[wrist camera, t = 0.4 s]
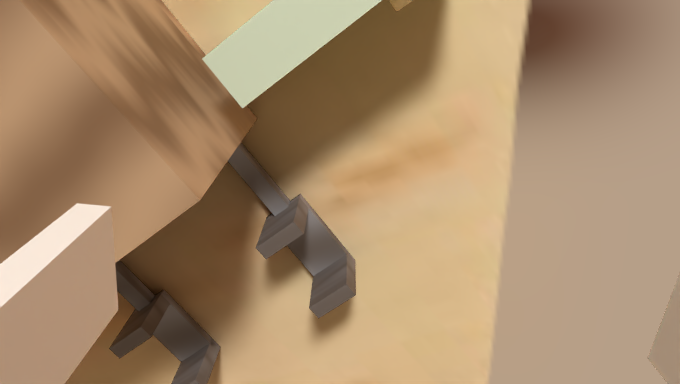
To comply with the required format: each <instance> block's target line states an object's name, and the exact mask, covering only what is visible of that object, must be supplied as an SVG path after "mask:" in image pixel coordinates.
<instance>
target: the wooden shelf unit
mask: <svg viewBox="0 0 680 384" xmlns="http://www.w3.org/2000/svg"><path fill="white" fill-rule="evenodd" d="M205 56H206V55H205V54H204V52H203V51H202V50H201V49H200V47H199V46H198V45H197V44H196V43H195V41H194V40H193V39H192V38H191V36H190V35H189V34H188V33H187V31H186V30H185V29H184V28H183V27H182V25H181V24H180V23H179V22H178V20H177V19H176V18H175V17H174V15H173V14H172V13H171V12H170V11H169V9H168V8H167V7H166V6H165V4H164V3H163V2H162V1H161V0H0V264H1V263H2V262H3V261H5V260H6V259H7V258H9V257H10V256H11V255H12V254H14V253H15V252H16V251H17V250H19V249H20V248H21V247H23V246H24V245H25V244H26V243H28V242H29V241H30V240H31V239H33V238H34V237H35V236H36V235H38V234H39V233H40V232H42V231H43V230H44V229H45V228H47V227H48V226H49V225H50V224H52V223H53V222H54V221H55V220H57V219H58V218H59V217H61V216H62V215H63V214H64V213H66V212H67V211H68V210H69V209H71V208H72V207H73V206H74V205H76V204H77V203H79V204H90V205H100V206H111V211H112V225H113V239H114V253H115V267H116V282H117V291H118V292H119V293H120V294H121V295H122V296H123V297H124V298H125V299H126V300H127V301H128V302H129V303H130V304H131V305H132V306H134V307H135V308H136V309H135V311H134V312H133V314H132V315H131V317H130V318H129V320H128V321H127V323H126V324H125V326H124V327H123V329H122V330H121V332H120V333H119V335H118V336H117V338H116V339H115V341H114V342H113V344H112V345H111V347H110V348H109V349H110V350H111V351H112V352H113V353H114V354H115V355H117V356H118V357H119V358H121V357H122V356H124V355H125V354H127V353H128V352H130V351H131V350H133V349H134V348H136V347H137V346H139V345H140V344H142V343H143V342H145V341H146V340H148V339H149V338H151V337H152V335H154V336H155V337H156V338H157V339H158V340H159V341H160V342H161V343H162V344H163V345H164V346H165V347H166V348H167V349H168V350H169V351H170V352H171V353H173V354H174V355H175V356H176V357H177V358H178V359H179V360H180V361H181V364H180V366H179V368H178V370H177V372H176V375H175V377H174V379H173V381H172V383H171V384H207V383H208V380H209V377H210V374H211V372H212V369H213V366H214V363H215V361H216V358H217V355H218V352H219V350H220V346H219V345H218V344H217V343H216V342H215V341H214V340H213V339H212V338H211V337H210V336H209V335H208V334H207V333H206V332H205V331H204V330H203V329H202V328H201V327H200V326H199V325H198V324H197V323H196V322H195V321H194V320H193V319H192V318H191V317H190V316H189V315H188V314H187V313H186V312H185V311H184V310H183V309H182V308H181V307H180V306H179V305H178V304H177V303H176V302H175V301H174V300H173V299H172V298H171V297H170V296H169V295H168V294H167V293H166V292H165V291H164V290H162V291H161V292H160V293H158V294H157V295H154V294H153V293H152V292H151V291H150V290H149V289H148V288H147V287H146V286H145V285H144V284H143V283H142V282H141V281H140V280H139V279H138V278H137V277H136V276H135V275H134V274H133V273H132V272H131V271H130V270H129V269H128V268H127V267H126V266H125V265H124V264H123V263H122V262H121V261H120V259H121V258H123V257H124V256H125V255H127V254H128V253H129V252H131V251H132V250H134V249H135V248H136V247H138V246H139V245H140V244H142V243H143V242H144V241H146V240H147V239H148V238H150V237H151V236H152V235H154V234H155V233H157V232H158V231H159V230H161V229H162V228H163V227H165V226H166V225H167V224H169V223H170V222H171V221H173V220H174V219H176V218H177V217H178V216H180V215H181V214H182V213H184V212H185V211H186V210H188V209H189V208H190V207H192V206H193V205H194V204H196V203H197V202H199V201H200V200H201V198H202V197H203V195H204V194H205V193H206V191H207V190H208V188H209V187H210V185H211V184H212V183H213V181H214V180H215V178H216V177H217V175H218V174H219V173H220V171H221V170H222V168H223V167H224V166H225V164H226V163H227V161H228V162H229V163H230V165H231V166H232V167H233V168H234V169H235V170H236V172H237V173H238V174H239V175H240V176H241V177H242V179H243V180H244V181H245V182H246V183H247V184H248V186H249V187H250V188H251V189H252V190H253V191H254V193H255V194H256V195H257V196H258V197H259V198H260V200H261V201H262V202H263V203H264V204H265V205H266V207H267V208H268V209H269V210H270V211H271V212H272V214H271V215H269V216H268V217H267V218H266V221H265V224H264V227H263V229H262V232H261V235H260V237H259V240H258V243H257V246H256V249H257V250H258V251H259V252H260V253H261V254H262V255H263V257H264V258H265V259H267V258H269V257H270V256H272V255H273V254H275V253H276V252H278V251H279V250H281V249H282V248H284V247H285V246H286V245H287V246H288V247H289V249H290V250H291V251H292V252H293V253H294V254H295V255H296V257H297V258H298V259H299V260H300V261H301V262H302V264H303V265H304V266H305V267H306V268H307V269H308V270H309V272H310V273H311V274H312V275H313V283H312V290H311V298H310V306H309V308H310V309H311V310H312V311H313V313H314V314H315V315H316V316H317V317H318V318H320V317H322V316H323V315H325V314H326V313H328V312H330V311H331V310H333V309H334V308H336V307H338V306H339V305H341V304H342V303H344V302H346V301H347V300H349V299H350V298H352V297H354V296H355V295H356V280H355V259H354V258H353V257H352V256H351V255H350V253H349V252H348V251H347V250H346V248H345V247H344V246H343V245H342V244H341V242H340V241H339V240H338V239H337V238H336V236H335V235H334V234H333V233H332V232H331V230H330V229H329V228H328V227H327V225H326V224H325V223H324V222H323V221H322V219H321V218H320V217H319V216H318V215H317V213H316V212H315V211H314V210H313V209H312V207H311V206H310V205H309V204H308V202H307V201H306V200H305V199H304V198H303V196H302V195H301V194H299V195H298V196H297V197H295V198H294V199H292V200H291V201H290V200H289V199H288V198H287V197H286V195H285V194H284V193H283V192H282V191H281V189H280V188H279V187H278V186H277V185H276V183H275V182H274V181H273V180H272V179H271V177H270V176H269V175H268V174H267V173H266V171H265V170H264V169H263V168H262V167H261V166H260V164H259V163H258V162H257V161H256V160H255V158H254V157H253V156H252V155H251V154H250V152H249V151H248V150H247V149H246V148H245V146H244V145H243V144H242V143H241V141H242V140H243V139H244V137H245V136H246V134H247V133H248V131H249V130H250V129H251V127H252V126H253V124H254V123H255V121H256V120H257V118H256V116H255V115H254V114H253V113H252V111H251V110H250V109H249V108H248V107H247V105H246V106H245V107H244V108H242V107H241V106H240V105H239V104H238V102H237V101H236V100H235V99H234V98H233V96H232V95H231V94H230V93H229V91H228V90H227V89H226V88H225V87H224V85H223V84H222V83H221V82H220V80H219V79H218V78H217V77H216V76H215V74H214V73H213V72H212V71H211V69H210V68H209V67H208V66H207V64H206V63H205V62H204V61H203V60H202V58H204V57H205Z"/></svg>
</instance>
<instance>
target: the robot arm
mask: <svg viewBox="0 0 680 384" xmlns="http://www.w3.org/2000/svg"><path fill="white" fill-rule="evenodd" d="M117 311H118V296H117V282H116V267H115V253H114V239H113V225H112V211H111V206H100V205H90V204H79V203H77V204H76V205H74V206H73V207H72V208H71V209H69V210H68V211H67V212H66V213H64V214H63V215H62V216H61V217H59V218H58V219H57V220H55V221H54V222H53V223H52V224H50V225H49V226H48V227H47V228H45V229H44V230H43V231H42V232H40V233H39V234H38V235H36V236H35V237H34V238H33V239H31V240H30V241H29V242H28V243H26V244H25V245H24V246H23V247H21V248H20V249H19V250H17V251H16V252H15V253H14V254H12V255H11V256H10V257H9V258H7V259H6V260H5V261H3V262H2V263H1V264H0V384H65V383H66V381H67V380H68V379H69V377H70V376H71V375H72V373H73V372H74V370H75V369H76V368H77V366H78V365H79V364H80V362H81V361H82V359H83V358H84V357H85V355H86V354H87V352H88V351H89V350H90V348H91V347H92V346H93V344H94V343H95V341H96V340H97V339H98V337H99V336H100V335H101V333H102V332H103V330H104V329H105V328H106V326H107V325H108V323H109V322H110V321H111V319H112V318H113V317H114V315H115V314H116V312H117ZM648 359H649V361H650V362H651V363H652V365H653V366H654V367H655V368H656V370H657V371H658V372H659V373H660V375H661V376H662V377H663V378H664V380H665V381H666V382H667V383H668V384H680V273H679V276H678V279H677V281H676V284H675V287H674V289H673V292H672V295H671V298H670V300H669V303H668V305H667V308H666V311H665V313H664V316H663V319H662V322H661V325H660V327H659V329H658V332H657V335H656V337H655V340H654V342H653V345H652V348H651V350H650V353H649V356H648Z"/></svg>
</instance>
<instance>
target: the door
mask: <svg viewBox="0 0 680 384" xmlns="http://www.w3.org/2000/svg"><path fill="white" fill-rule="evenodd" d="M381 1H382V0H273V1H272V2H270V3H269V4H268V5H267V6H265V7H264V8H263V9H262V10H261V11H259V12H258V13H257V14H256V15H255V16H253V17H252V18H251V19H250V20H248V21H247V22H246V23H245V24H244V25H242V26H241V27H240V28H239V29H238V30H236V31H235V32H234V33H233V34H231V35H230V36H229V37H228V38H227V39H225V40H224V41H223V42H222V43H221V44H219V45H218V46H217V47H216V48H214V49H213V50H212V51H211V52H210V53H208V54H207V55H206V56H205V57H204V58H202V60H203V61H204V62H205V63H206V64H207V66H208V67H209V68H210V69H211V71H212V72H213V73H214V74H215V76H216V77H217V78H218V79H219V80H220V82H221V83H222V84H223V85H224V87H225V88H226V89H227V90H228V91H229V93H230V94H231V95H232V96H233V98H234V99H235V100H236V101H237V102H238V104H239V105H240V106H241V107H242V108H244V107H245V106H246V105H248V104H249V103H250V102H251V101H253V100H254V99H255V98H257V97H258V96H259V95H260V94H262V93H263V92H264V91H266V90H267V89H268V88H269V87H271V86H272V85H273V84H275V83H276V82H277V81H279V80H280V79H281V78H282V77H284V76H285V75H286V74H288V73H289V72H290V71H291V70H293V69H294V68H295V67H297V66H298V65H299V64H300V63H302V62H303V61H304V60H306V59H307V58H308V57H310V56H311V55H312V54H313V53H315V52H316V51H317V50H319V49H320V48H321V47H322V46H324V45H325V44H326V43H328V42H329V41H330V40H331V39H333V38H334V37H335V36H337V35H338V34H339V33H340V32H342V31H343V30H344V29H346V28H347V27H348V26H350V25H351V24H352V23H353V22H355V21H356V20H357V19H359V18H360V17H361V16H362V15H364V14H365V13H366V12H368V11H369V10H370V9H371V8H373V7H374V6H375V5H377V4H378V3H379V2H381ZM389 1H390V3H391V4H392V6H393V7H394V9H395V10H396V12H397V11H399V10H400V9H402V8H403V7H405V6H406V5H408V4H409V3H410V2H411V1H413V0H389Z"/></svg>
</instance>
